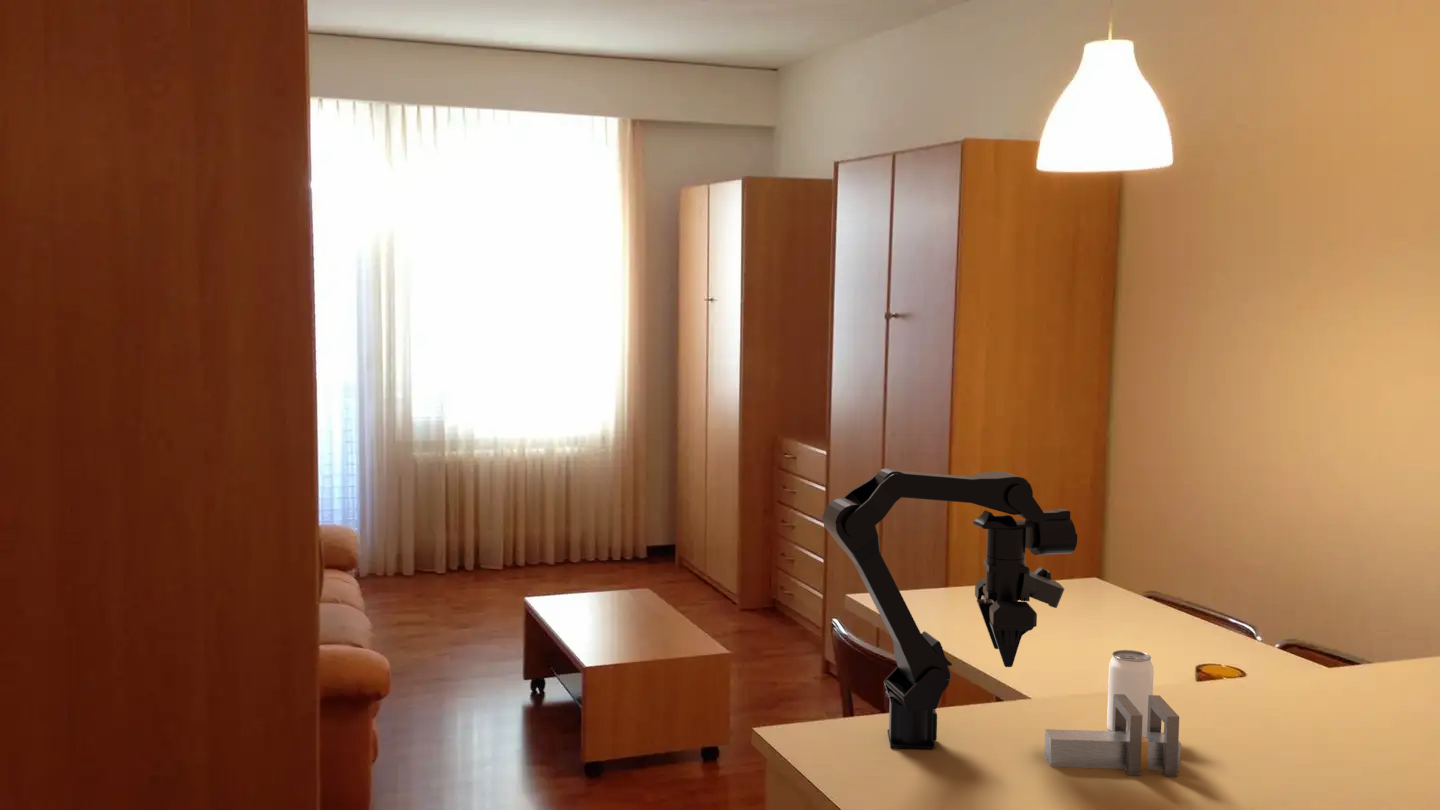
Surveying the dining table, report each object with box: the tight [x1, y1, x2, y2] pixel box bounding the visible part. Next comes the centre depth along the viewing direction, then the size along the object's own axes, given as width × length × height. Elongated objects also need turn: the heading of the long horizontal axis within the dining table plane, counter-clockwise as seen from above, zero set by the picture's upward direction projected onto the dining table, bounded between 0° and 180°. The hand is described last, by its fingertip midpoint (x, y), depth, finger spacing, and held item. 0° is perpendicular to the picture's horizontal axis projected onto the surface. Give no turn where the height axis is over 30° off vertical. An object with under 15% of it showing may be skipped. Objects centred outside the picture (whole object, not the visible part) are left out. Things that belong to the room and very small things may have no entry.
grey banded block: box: [1044, 728, 1182, 771], centre depth 170 cm, size 18×4×4 cm, turn 86°
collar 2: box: [1147, 694, 1180, 778], centre depth 169 cm, size 2×9×9 cm, turn 176°
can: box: [1106, 649, 1154, 732], centre depth 182 cm, size 6×6×12 cm
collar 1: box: [1112, 694, 1143, 777], centre depth 169 cm, size 2×9×9 cm, turn 176°
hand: (1002, 657), depth 180 cm, fingers open, 9 cm apart
